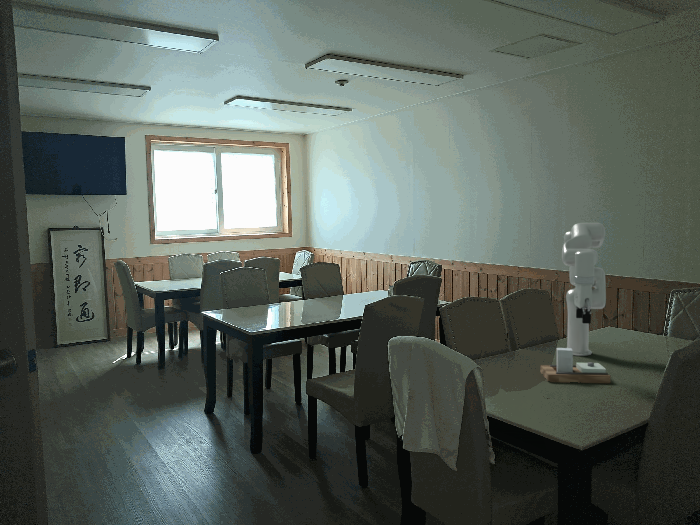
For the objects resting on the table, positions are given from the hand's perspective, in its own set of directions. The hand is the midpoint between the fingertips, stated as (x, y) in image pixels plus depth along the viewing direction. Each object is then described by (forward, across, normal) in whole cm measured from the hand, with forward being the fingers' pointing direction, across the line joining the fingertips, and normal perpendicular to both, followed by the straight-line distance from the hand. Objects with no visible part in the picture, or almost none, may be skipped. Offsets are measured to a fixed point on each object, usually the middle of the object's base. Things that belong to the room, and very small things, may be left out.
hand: (583, 320), depth 224 cm
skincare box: (+23, +6, -8) cm, 25 cm away
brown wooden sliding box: (+23, +6, -5) cm, 24 cm away
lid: (+20, +5, +2) cm, 21 cm away
